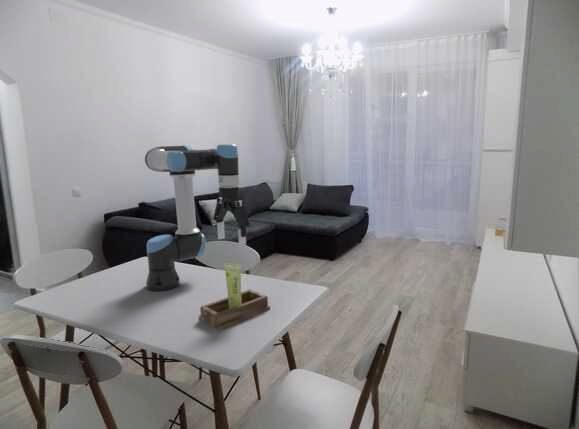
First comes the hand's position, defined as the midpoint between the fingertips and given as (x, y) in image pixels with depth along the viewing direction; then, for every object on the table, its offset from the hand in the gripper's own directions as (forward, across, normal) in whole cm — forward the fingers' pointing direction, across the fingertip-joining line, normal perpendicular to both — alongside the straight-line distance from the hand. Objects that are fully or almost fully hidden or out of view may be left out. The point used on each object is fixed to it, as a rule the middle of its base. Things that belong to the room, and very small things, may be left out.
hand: (231, 241), depth 150 cm
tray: (+29, +1, -1) cm, 29 cm away
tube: (+28, +1, -1) cm, 28 cm away
